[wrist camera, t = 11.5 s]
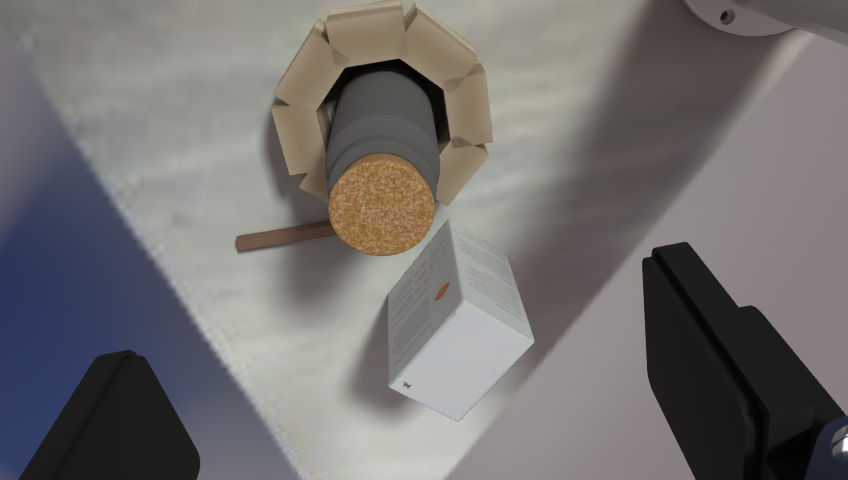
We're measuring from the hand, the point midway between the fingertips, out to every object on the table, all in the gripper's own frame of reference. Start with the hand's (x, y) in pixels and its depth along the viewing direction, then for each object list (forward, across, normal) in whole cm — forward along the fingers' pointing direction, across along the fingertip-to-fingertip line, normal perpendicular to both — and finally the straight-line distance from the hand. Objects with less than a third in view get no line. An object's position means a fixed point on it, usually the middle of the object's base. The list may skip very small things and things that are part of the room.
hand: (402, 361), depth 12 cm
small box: (+31, +1, +18) cm, 36 cm away
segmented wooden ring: (+31, +2, +5) cm, 31 cm away
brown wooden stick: (+31, +10, +12) cm, 35 cm away
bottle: (+31, +2, +5) cm, 32 cm away
